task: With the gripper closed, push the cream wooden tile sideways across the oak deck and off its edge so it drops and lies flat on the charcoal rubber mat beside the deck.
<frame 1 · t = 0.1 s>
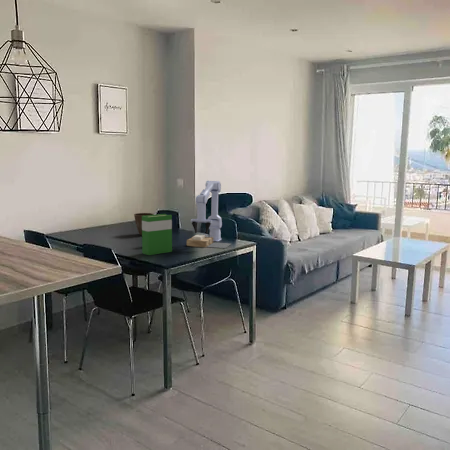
hand: (201, 233, 319), 10 cm above the table, tool pointing down, fingers open, 7 cm apart
plant pot: (144, 234, 368), on the table
green cereal box: (157, 252, 305), on the table
oak deck: (200, 244, 332), on the table
charcoal mat: (219, 245, 328), on the table
cream tile: (198, 237, 331), point 5 cm above the table, touching oak deck
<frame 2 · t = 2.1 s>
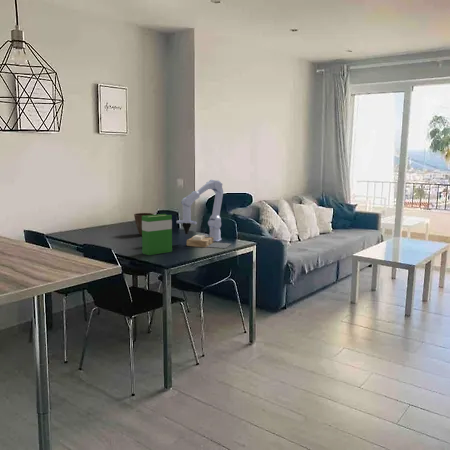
hand: (186, 233, 334), 7 cm above the table, tool pointing down, fingers closed
nothing on the table moved.
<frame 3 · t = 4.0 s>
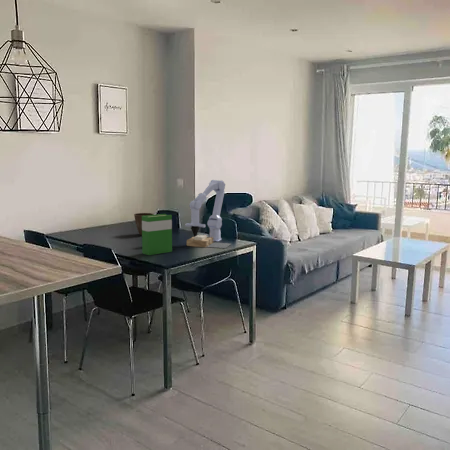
hand: (195, 237, 332), 5 cm above the table, tool pointing down, fingers closed
cream tile: (200, 237, 331), point 5 cm above the table, touching gripper, oak deck
everything else where it was.
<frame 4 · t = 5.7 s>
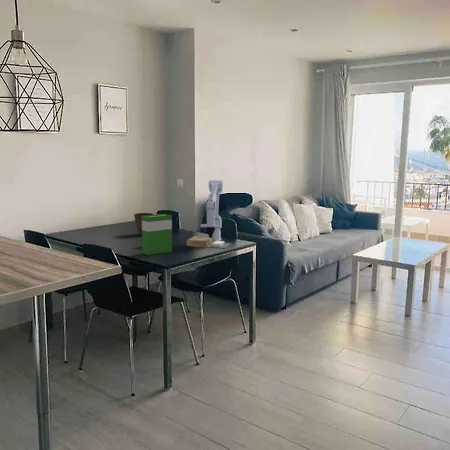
hand: (210, 238, 329), 5 cm above the table, tool pointing down, fingers closed
cream tile: (218, 243, 327), point 1 cm above the table, tilted 180°, touching charcoal mat
everything else where it was.
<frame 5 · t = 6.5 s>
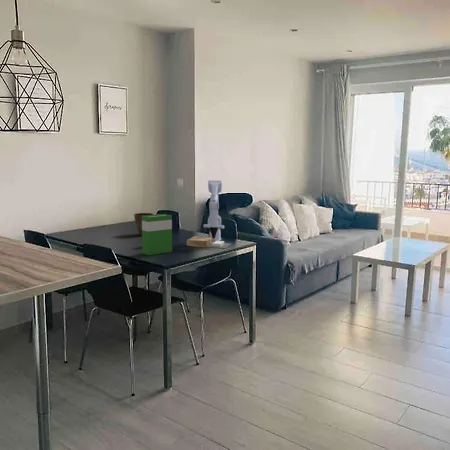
hand: (213, 238, 328), 5 cm above the table, tool pointing down, fingers closed
nothing on the table moved.
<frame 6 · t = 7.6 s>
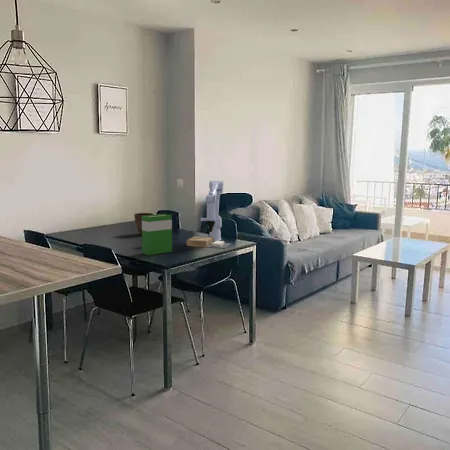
hand: (210, 231, 329), 9 cm above the table, tool pointing down, fingers closed
nothing on the table moved.
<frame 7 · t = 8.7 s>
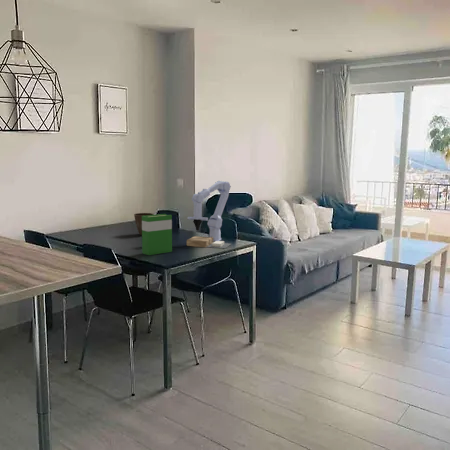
hand: (197, 230, 334), 9 cm above the table, tool pointing down, fingers closed
nothing on the table moved.
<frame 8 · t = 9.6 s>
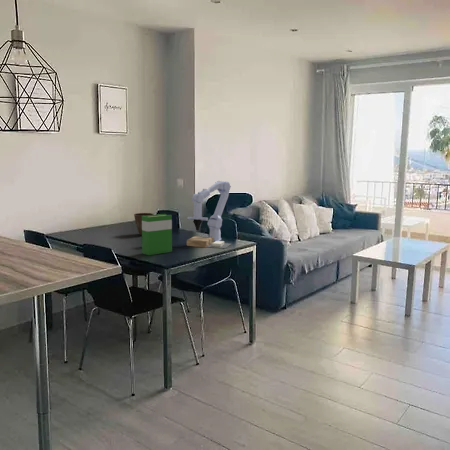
hand: (197, 230, 334), 9 cm above the table, tool pointing down, fingers closed
nothing on the table moved.
at the end: cream tile inside the target area (0.6 cm from its centre), point 1.4 cm above the table; cream tile touching charcoal mat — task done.
